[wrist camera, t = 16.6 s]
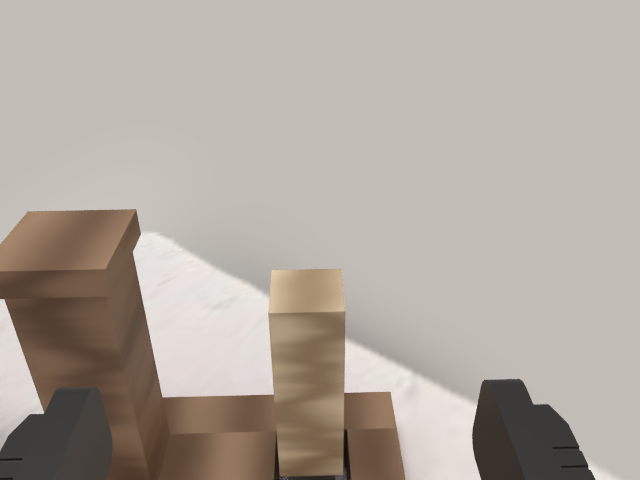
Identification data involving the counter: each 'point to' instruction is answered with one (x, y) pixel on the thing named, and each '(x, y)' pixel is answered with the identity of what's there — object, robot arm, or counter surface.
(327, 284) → the beige wooden post
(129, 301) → the brown wooden stand
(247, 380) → the counter surface
